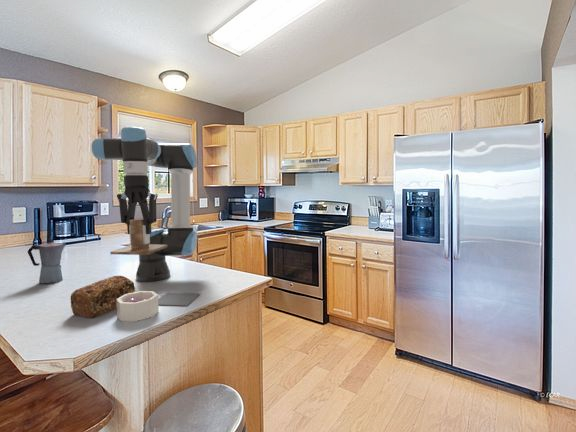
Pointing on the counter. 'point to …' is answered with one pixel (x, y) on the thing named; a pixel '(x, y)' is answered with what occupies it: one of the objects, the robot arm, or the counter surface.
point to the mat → (177, 299)
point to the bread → (100, 296)
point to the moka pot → (49, 261)
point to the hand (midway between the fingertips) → (140, 243)
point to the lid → (138, 241)
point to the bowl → (137, 305)
